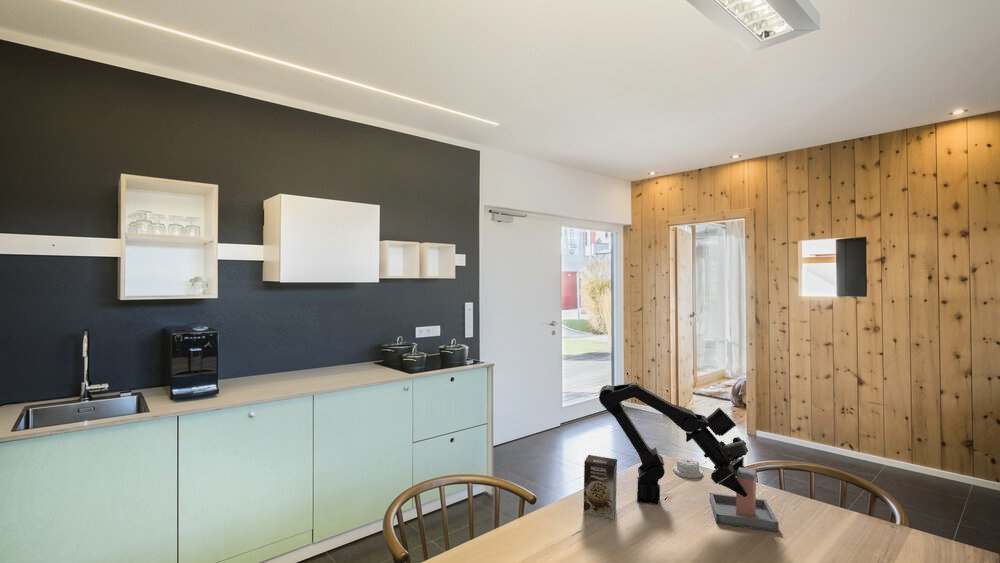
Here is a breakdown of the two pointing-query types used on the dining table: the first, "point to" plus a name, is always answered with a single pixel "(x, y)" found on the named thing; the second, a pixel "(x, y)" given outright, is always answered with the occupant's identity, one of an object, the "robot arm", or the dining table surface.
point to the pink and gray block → (748, 482)
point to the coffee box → (600, 486)
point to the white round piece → (688, 468)
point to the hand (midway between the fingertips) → (749, 490)
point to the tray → (727, 516)
